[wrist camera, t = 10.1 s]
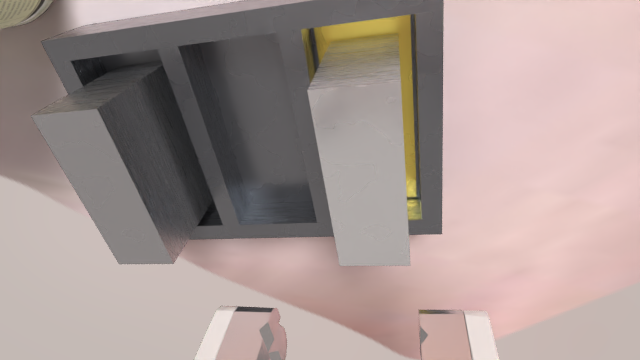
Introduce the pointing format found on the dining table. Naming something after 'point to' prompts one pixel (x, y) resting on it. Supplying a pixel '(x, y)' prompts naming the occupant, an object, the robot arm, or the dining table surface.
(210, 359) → the robot arm
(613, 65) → the dining table surface
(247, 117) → the rack
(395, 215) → the grey rectangular block
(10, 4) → the coffee can
